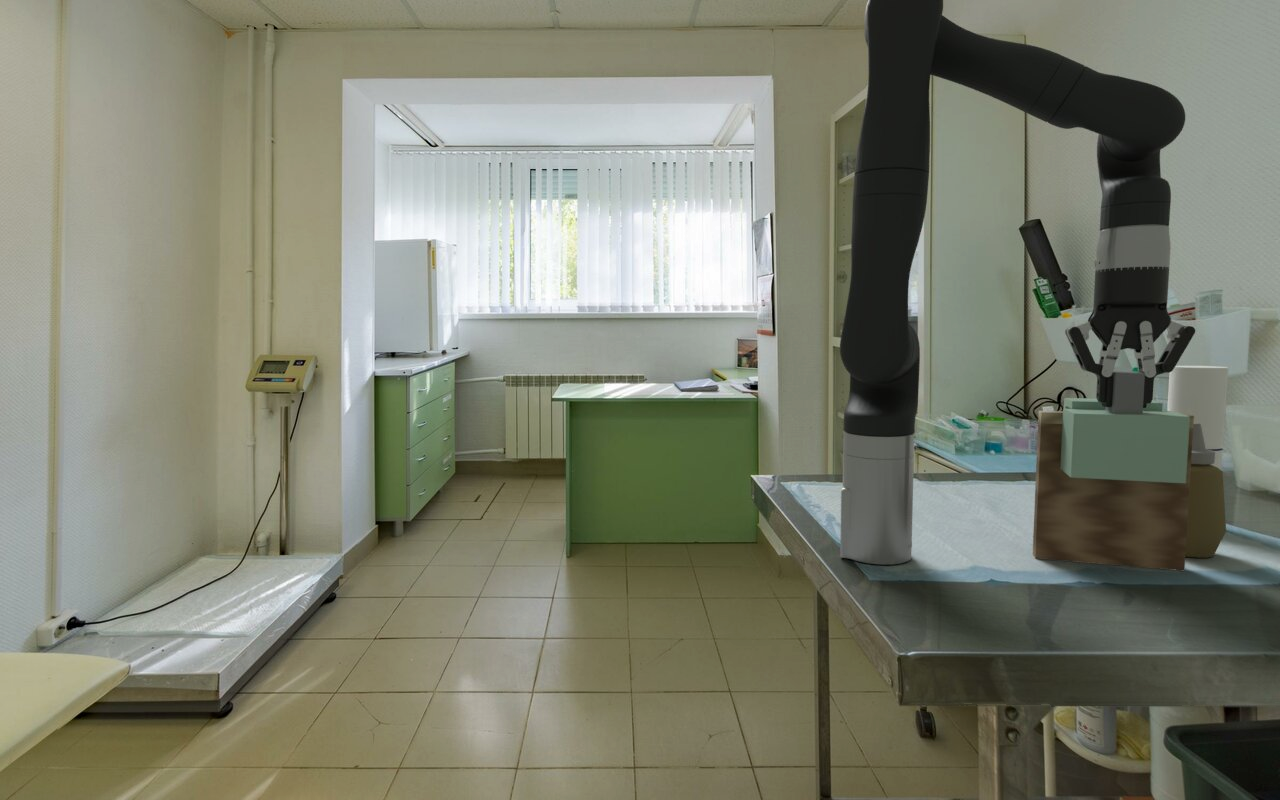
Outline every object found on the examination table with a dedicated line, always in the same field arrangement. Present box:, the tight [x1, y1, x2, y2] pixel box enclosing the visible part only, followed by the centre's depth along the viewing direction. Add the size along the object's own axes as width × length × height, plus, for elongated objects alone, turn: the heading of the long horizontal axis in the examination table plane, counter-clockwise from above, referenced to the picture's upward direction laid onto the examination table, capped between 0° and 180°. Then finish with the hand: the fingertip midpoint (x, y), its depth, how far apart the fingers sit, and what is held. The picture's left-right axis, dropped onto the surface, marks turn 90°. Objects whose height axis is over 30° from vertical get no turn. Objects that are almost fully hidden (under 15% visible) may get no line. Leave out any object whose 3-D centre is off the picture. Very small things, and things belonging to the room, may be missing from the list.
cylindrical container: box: [1166, 365, 1229, 471], centre depth 112 cm, size 7×7×25 cm
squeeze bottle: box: [1185, 423, 1227, 558], centre depth 99 cm, size 8×8×18 cm
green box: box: [1060, 370, 1190, 483], centre depth 92 cm, size 12×11×13 cm
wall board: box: [1032, 410, 1194, 571], centre depth 98 cm, size 17×7×20 cm, turn 71°
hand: (1123, 406), depth 90 cm, fingers closed on green box, 3 cm apart
